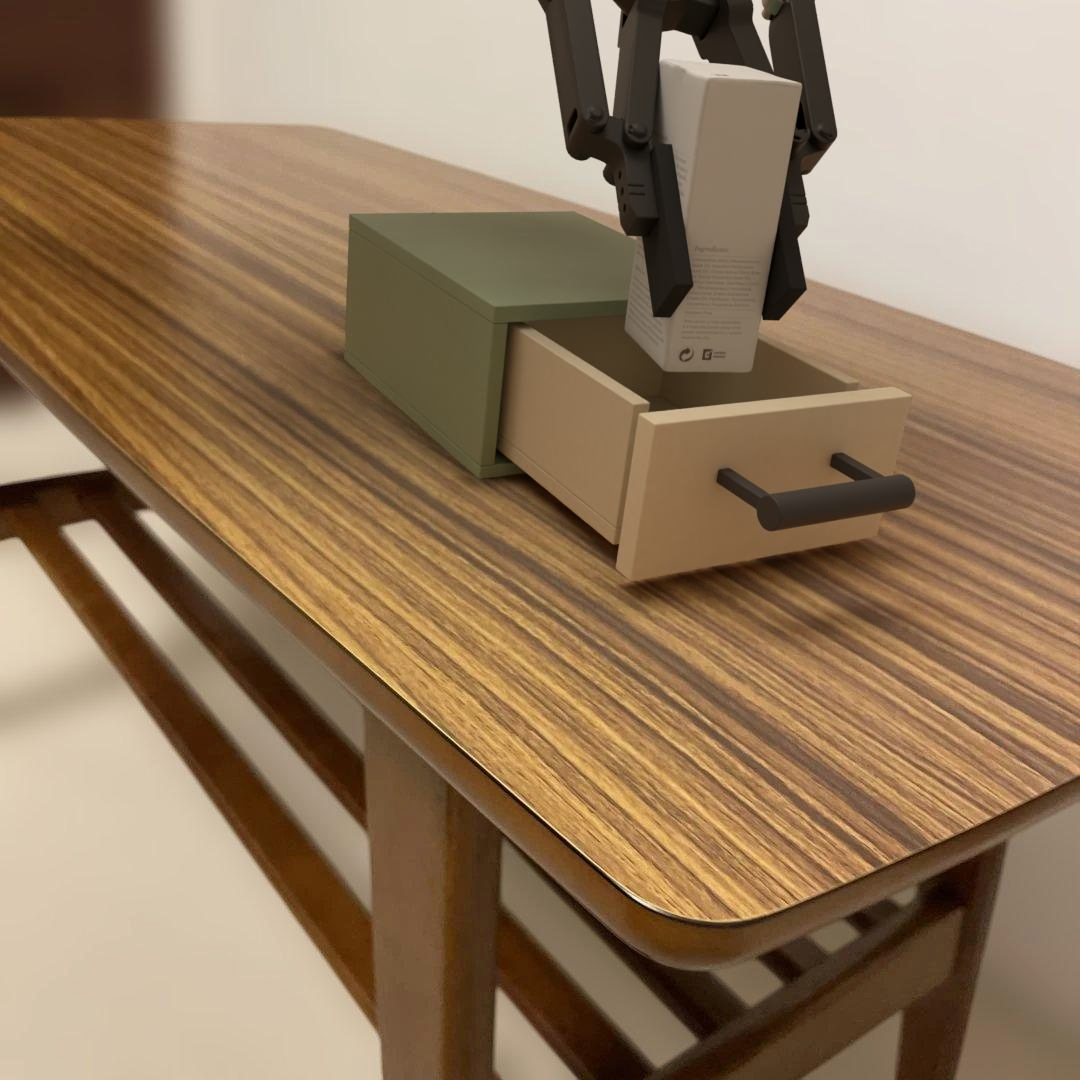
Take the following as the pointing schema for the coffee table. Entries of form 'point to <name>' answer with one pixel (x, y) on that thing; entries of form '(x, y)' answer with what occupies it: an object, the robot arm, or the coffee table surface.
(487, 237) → the cabinet
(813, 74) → the robot arm
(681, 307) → the cosmetic box
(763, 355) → the drawer
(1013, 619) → the coffee table surface
